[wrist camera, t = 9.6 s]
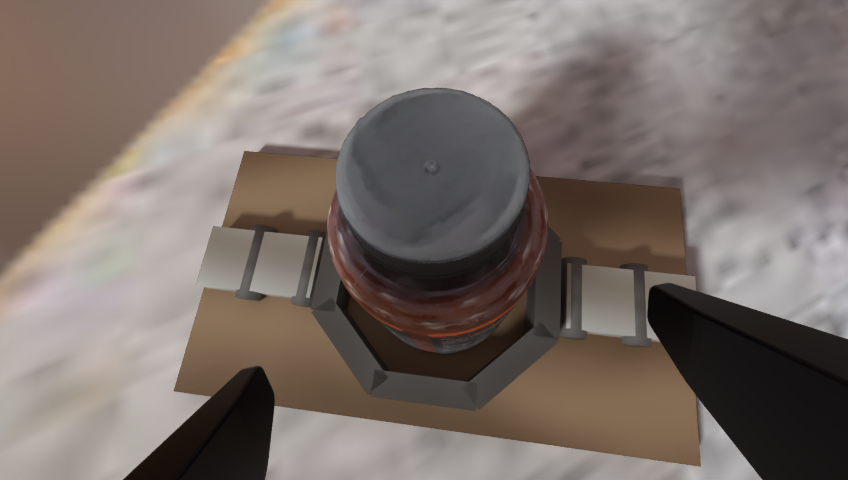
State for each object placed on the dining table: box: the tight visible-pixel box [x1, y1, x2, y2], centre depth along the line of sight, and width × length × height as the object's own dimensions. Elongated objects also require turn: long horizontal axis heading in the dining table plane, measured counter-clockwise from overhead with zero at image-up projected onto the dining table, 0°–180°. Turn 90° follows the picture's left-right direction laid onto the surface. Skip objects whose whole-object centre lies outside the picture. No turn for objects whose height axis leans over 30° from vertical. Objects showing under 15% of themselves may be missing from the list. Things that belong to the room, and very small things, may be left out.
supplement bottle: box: [327, 88, 548, 354], centre depth 13 cm, size 6×6×11 cm
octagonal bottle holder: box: [174, 151, 701, 466], centre depth 18 cm, size 12×22×3 cm, turn 83°
